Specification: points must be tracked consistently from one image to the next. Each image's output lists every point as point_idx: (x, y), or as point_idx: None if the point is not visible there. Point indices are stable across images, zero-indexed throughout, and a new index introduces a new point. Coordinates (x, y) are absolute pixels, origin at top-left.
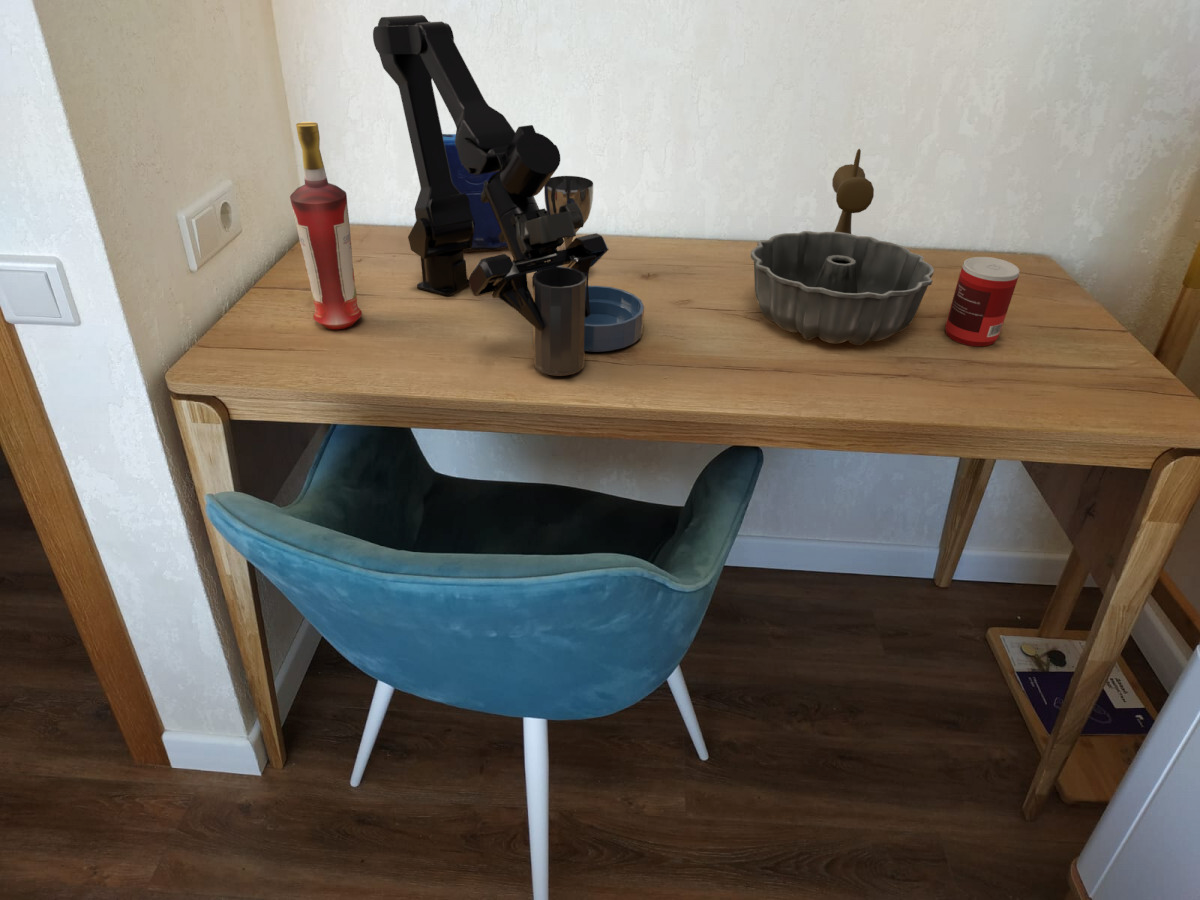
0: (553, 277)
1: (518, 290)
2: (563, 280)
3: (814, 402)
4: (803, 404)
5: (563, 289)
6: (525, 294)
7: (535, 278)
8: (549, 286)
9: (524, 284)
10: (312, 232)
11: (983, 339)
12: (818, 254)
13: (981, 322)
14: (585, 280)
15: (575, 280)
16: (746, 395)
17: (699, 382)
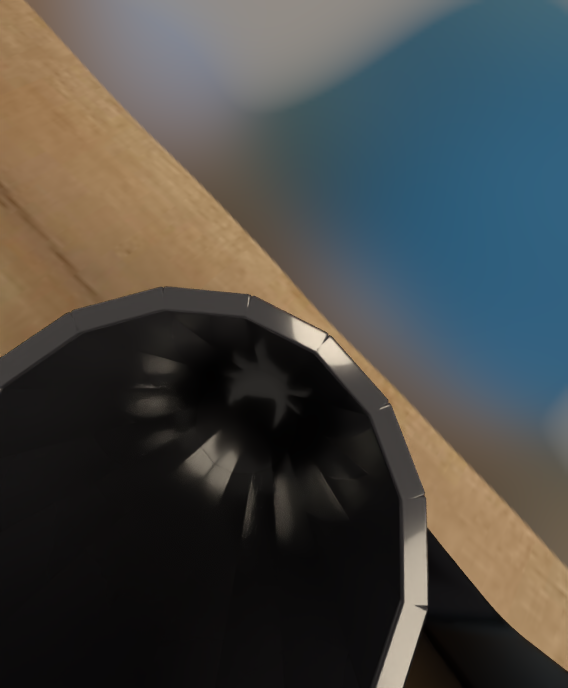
0: (100, 685)
1: (497, 617)
2: (64, 602)
3: (24, 53)
4: (42, 61)
5: (312, 325)
6: (430, 563)
7: (385, 671)
8: (388, 418)
9: (471, 652)
10: None
11: None
12: None
13: None
14: (59, 319)
15: (21, 514)
16: (79, 130)
17: (96, 203)
